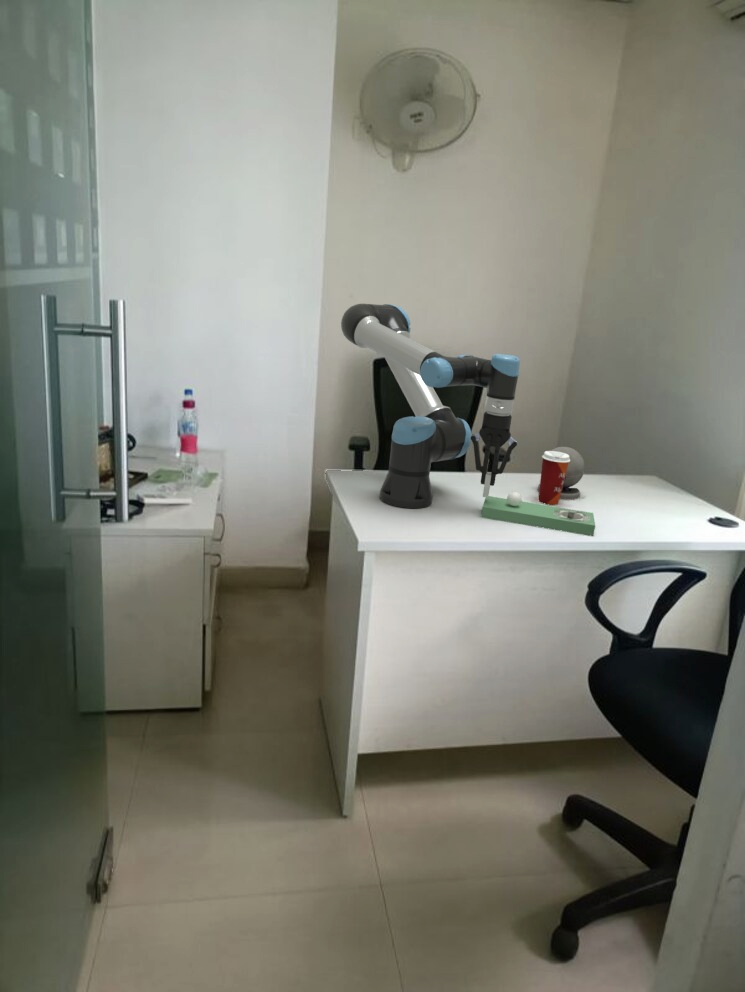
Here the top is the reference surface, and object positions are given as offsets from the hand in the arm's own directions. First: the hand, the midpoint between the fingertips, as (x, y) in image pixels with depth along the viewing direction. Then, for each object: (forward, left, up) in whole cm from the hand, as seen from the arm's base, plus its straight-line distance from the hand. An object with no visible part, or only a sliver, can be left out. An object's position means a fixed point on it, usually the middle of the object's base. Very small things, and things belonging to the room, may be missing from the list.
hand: (485, 495), depth 198 cm
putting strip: (+15, 0, -5) cm, 16 cm away
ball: (+8, 0, 0) cm, 8 cm away
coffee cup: (+18, +20, -5) cm, 27 cm away
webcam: (+21, +31, -5) cm, 37 cm away
